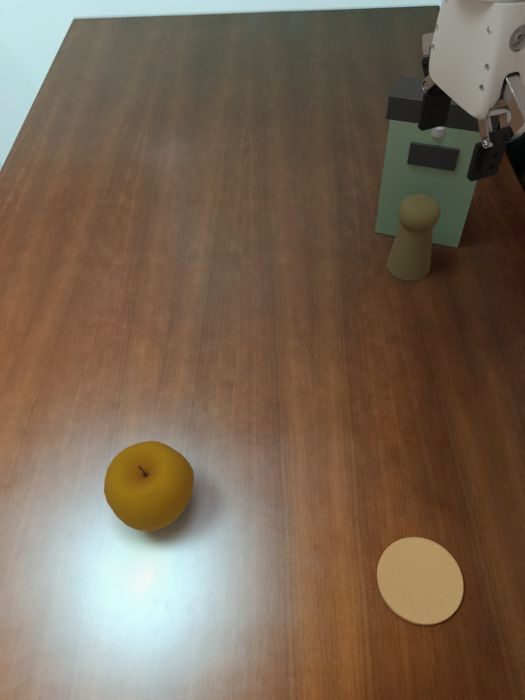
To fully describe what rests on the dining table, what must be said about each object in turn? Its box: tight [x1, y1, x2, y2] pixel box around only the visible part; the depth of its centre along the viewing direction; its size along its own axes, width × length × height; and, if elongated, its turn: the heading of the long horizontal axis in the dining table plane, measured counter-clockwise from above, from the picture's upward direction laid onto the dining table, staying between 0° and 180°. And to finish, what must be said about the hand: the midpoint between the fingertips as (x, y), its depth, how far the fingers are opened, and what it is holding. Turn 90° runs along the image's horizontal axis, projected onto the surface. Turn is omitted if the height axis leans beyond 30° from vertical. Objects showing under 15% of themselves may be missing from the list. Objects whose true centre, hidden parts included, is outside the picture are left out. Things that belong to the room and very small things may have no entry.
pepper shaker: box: [385, 194, 440, 282], centre depth 77 cm, size 6×6×11 cm
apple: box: [103, 440, 195, 532], centre depth 58 cm, size 9×8×9 cm
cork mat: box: [376, 536, 465, 627], centre depth 55 cm, size 8×8×1 cm
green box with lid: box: [374, 75, 500, 249], centre depth 77 cm, size 13×6×21 cm, turn 70°
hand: (455, 150), depth 61 cm, fingers open, 9 cm apart
